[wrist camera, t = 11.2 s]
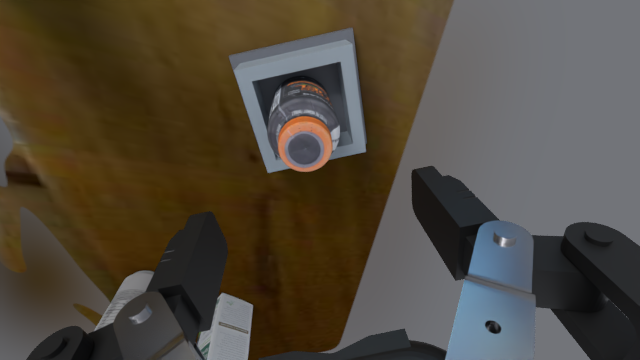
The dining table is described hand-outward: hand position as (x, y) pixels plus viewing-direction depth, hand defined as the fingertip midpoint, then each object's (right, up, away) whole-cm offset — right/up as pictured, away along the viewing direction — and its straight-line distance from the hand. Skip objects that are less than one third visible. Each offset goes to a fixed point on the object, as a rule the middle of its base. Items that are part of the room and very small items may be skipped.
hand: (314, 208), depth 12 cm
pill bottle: (-2, +9, +19) cm, 22 cm away
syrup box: (-14, -19, +36) cm, 43 cm away
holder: (-2, +10, +20) cm, 22 cm away
